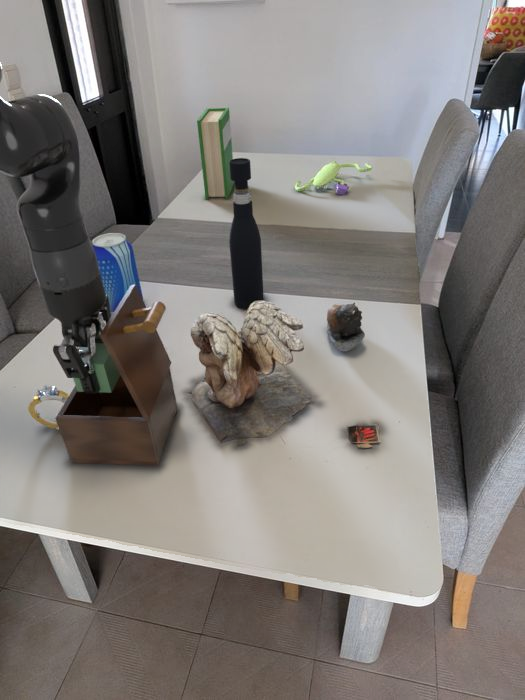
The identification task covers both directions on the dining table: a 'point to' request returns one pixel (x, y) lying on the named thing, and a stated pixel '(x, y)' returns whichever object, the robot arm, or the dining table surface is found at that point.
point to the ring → (44, 394)
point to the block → (102, 369)
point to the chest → (116, 426)
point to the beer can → (116, 266)
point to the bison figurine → (344, 326)
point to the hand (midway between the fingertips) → (99, 379)
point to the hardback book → (216, 151)
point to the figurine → (331, 177)
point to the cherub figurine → (248, 372)
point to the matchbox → (363, 434)
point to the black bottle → (244, 240)
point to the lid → (138, 348)
